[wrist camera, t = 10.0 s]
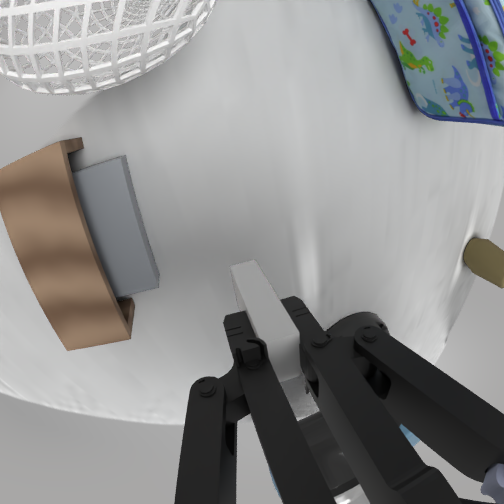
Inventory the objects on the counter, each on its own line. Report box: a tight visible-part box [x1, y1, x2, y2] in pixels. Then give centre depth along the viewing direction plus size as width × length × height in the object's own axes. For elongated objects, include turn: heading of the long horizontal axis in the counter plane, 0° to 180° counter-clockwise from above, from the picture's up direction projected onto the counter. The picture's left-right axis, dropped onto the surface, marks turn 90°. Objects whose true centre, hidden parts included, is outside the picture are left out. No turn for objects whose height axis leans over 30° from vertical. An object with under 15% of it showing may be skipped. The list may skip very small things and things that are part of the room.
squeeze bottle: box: [464, 238, 504, 288], centre depth 42 cm, size 8×8×18 cm
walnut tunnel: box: [0, 137, 135, 351], centre depth 27 cm, size 22×9×7 cm, turn 9°
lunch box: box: [370, 0, 504, 127], centre depth 19 cm, size 26×11×21 cm, turn 23°
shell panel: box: [72, 155, 159, 298], centre depth 29 cm, size 15×12×4 cm
